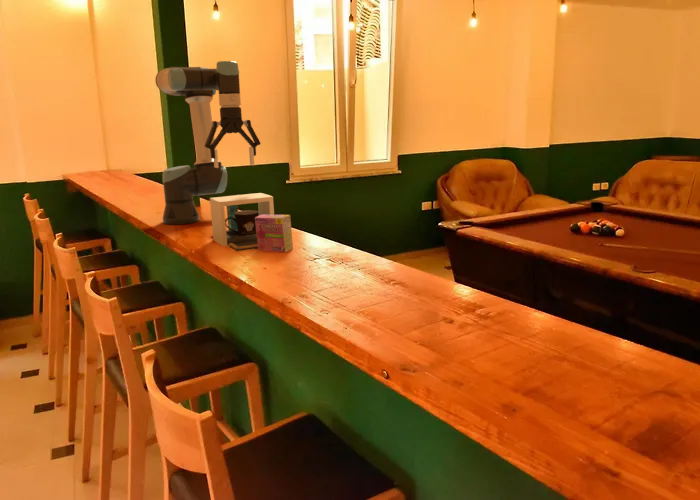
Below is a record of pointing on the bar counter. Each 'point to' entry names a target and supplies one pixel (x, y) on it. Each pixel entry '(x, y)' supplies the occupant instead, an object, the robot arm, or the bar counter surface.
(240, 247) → the dark slate tile
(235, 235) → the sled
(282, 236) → the box
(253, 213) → the coffee mug
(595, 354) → the bar counter surface
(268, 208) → the tunnel
